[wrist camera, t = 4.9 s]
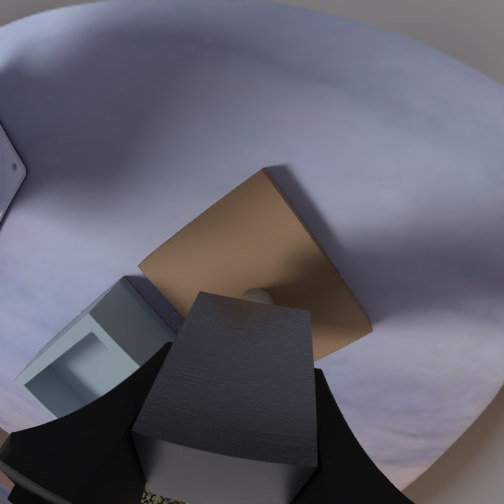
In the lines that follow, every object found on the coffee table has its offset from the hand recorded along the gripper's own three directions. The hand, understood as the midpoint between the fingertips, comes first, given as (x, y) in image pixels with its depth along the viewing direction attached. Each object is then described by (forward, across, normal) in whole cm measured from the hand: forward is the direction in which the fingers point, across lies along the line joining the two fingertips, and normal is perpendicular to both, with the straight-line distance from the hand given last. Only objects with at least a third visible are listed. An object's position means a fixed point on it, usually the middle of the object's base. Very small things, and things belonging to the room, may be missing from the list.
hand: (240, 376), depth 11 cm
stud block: (+6, 0, 0) cm, 6 cm away
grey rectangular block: (+2, 0, 0) cm, 2 cm away
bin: (+6, +8, +10) cm, 14 cm away
